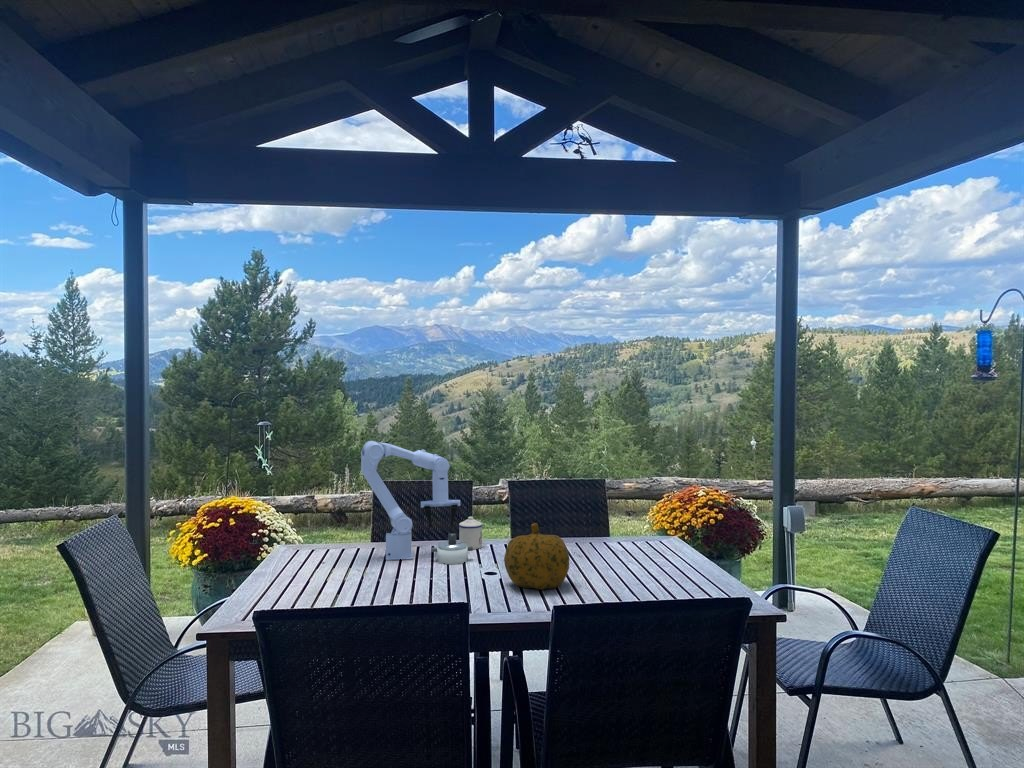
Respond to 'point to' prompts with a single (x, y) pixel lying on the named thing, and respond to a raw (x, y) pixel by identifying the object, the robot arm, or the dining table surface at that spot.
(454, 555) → the pot
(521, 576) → the decorative pumpkin
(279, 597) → the dining table surface
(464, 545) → the lid
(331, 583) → the dining table surface
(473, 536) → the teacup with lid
